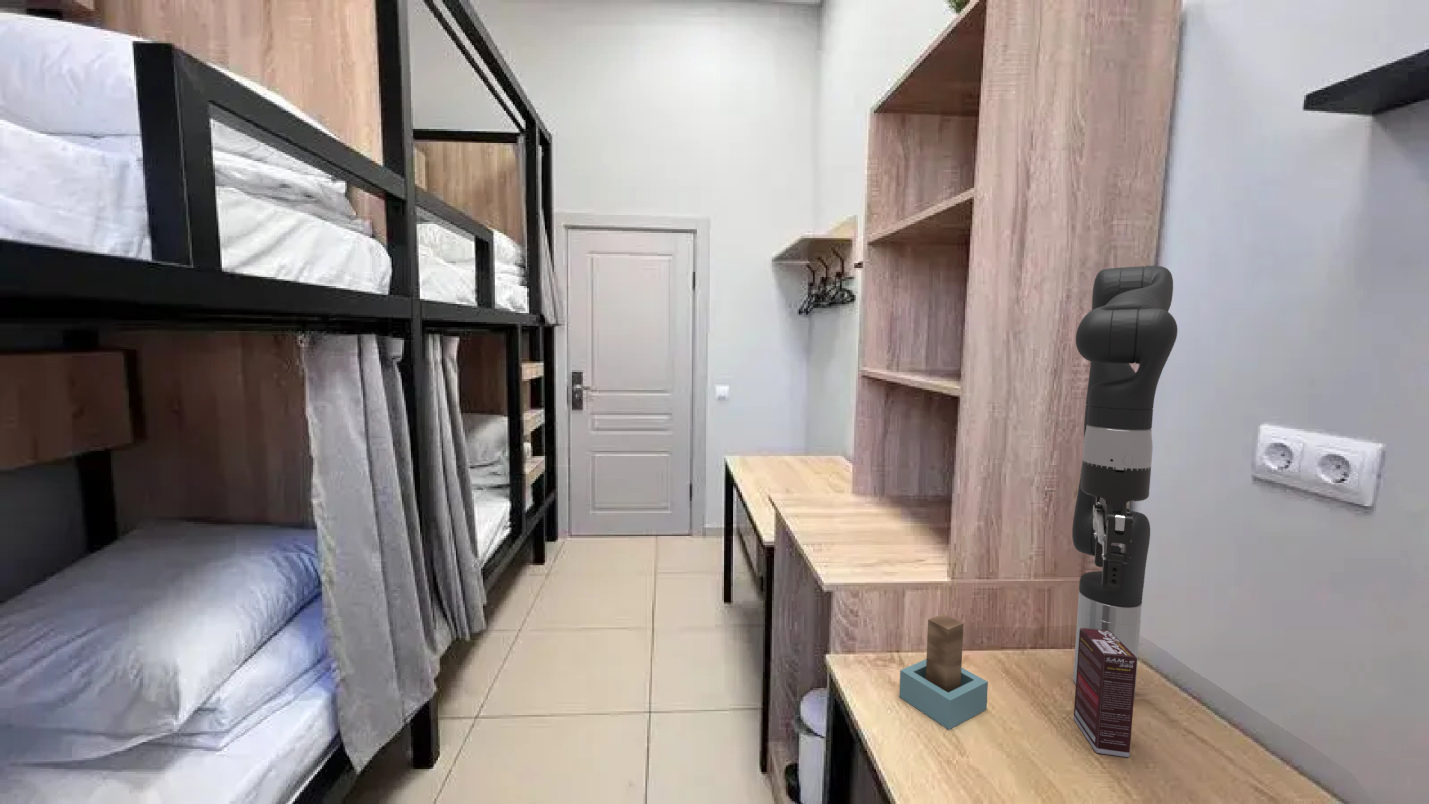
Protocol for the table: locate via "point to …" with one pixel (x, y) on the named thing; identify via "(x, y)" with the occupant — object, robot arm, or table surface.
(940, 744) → the table surface
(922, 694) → the well
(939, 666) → the walnut post
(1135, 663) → the supplement box
